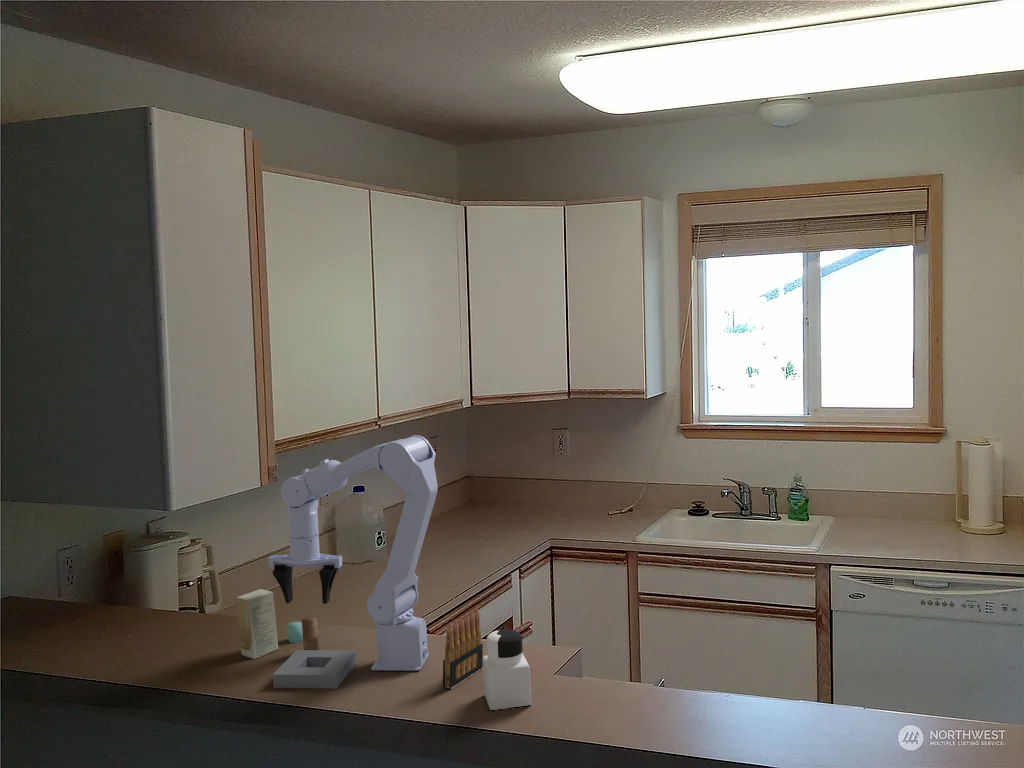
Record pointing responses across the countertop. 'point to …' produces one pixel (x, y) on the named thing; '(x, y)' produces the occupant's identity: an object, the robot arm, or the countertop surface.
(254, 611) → the skincare box
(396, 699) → the countertop surface
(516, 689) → the medicine bottle
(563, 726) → the countertop surface
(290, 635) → the short teal pin
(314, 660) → the slate hole block
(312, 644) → the long walnut pin
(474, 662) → the ammunition clip
